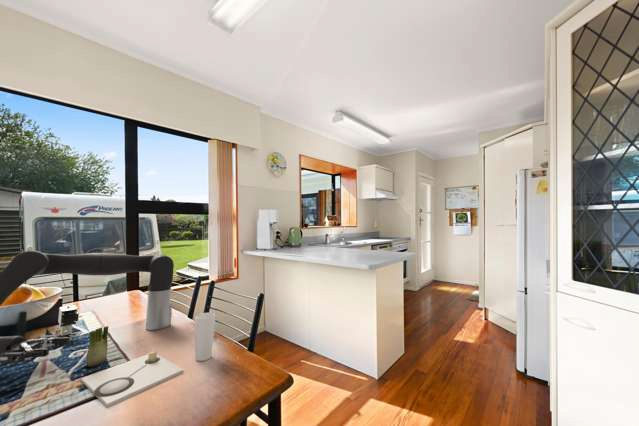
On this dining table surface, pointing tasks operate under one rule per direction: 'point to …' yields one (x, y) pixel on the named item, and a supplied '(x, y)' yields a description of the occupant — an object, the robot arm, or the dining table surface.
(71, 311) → the pneumatic valve
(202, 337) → the drinking glass
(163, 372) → the gauge board
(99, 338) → the fennel bulb
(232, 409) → the dining table surface
